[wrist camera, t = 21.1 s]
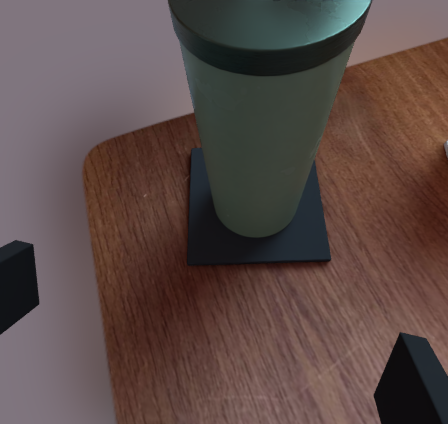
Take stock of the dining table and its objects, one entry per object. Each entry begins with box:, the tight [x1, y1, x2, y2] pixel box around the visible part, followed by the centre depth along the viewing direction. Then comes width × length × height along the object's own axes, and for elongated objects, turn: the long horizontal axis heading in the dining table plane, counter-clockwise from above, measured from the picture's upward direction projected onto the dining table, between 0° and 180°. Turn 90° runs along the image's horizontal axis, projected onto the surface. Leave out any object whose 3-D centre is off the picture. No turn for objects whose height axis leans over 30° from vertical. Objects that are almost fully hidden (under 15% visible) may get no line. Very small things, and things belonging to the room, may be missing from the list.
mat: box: [187, 148, 331, 266], centre depth 24 cm, size 10×10×1 cm
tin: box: [168, 0, 372, 238], centre depth 17 cm, size 7×7×15 cm
